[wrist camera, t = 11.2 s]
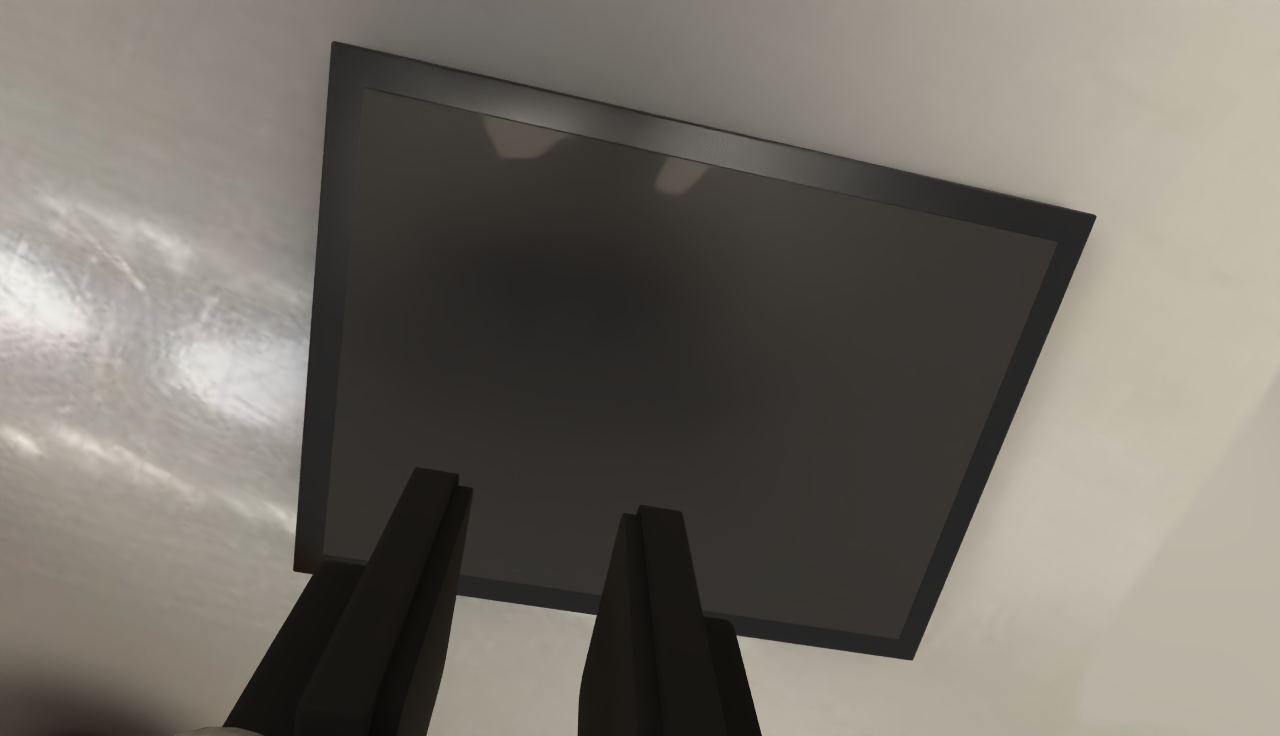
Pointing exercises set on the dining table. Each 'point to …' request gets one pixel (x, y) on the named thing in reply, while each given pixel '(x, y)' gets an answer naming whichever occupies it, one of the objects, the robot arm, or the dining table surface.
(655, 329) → the tablet
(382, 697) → the robot arm
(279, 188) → the dining table surface
